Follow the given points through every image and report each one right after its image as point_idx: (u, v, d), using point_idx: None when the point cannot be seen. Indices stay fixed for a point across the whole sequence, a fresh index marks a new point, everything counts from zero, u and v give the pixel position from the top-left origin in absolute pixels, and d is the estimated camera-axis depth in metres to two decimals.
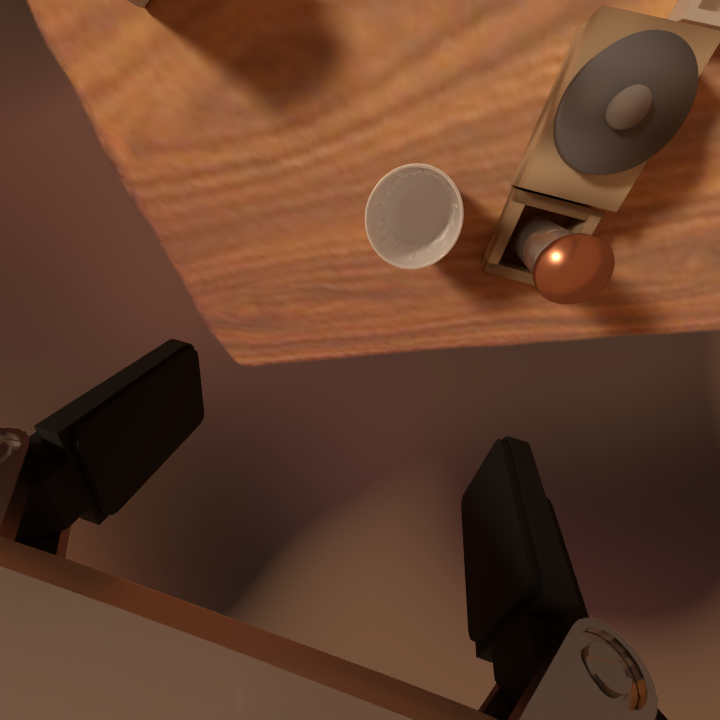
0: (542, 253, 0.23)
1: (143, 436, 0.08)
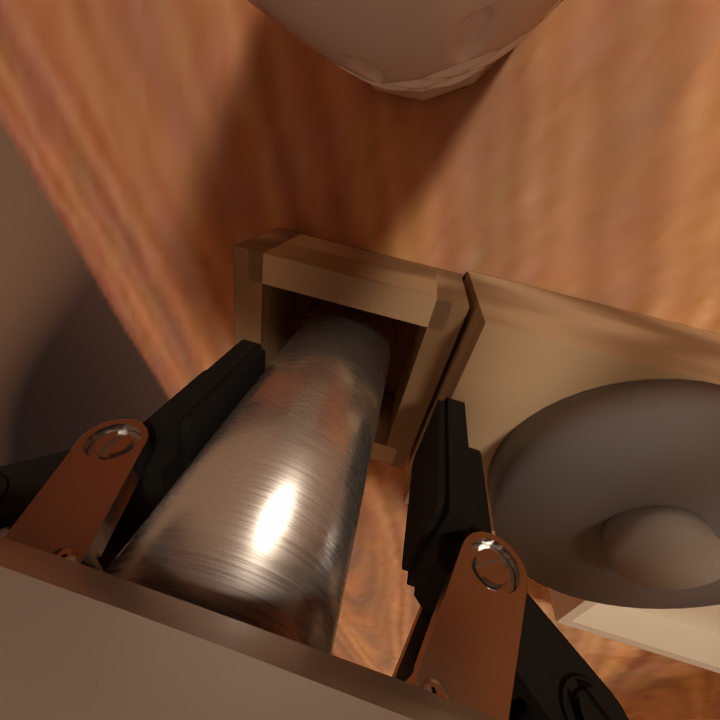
0: None
1: None
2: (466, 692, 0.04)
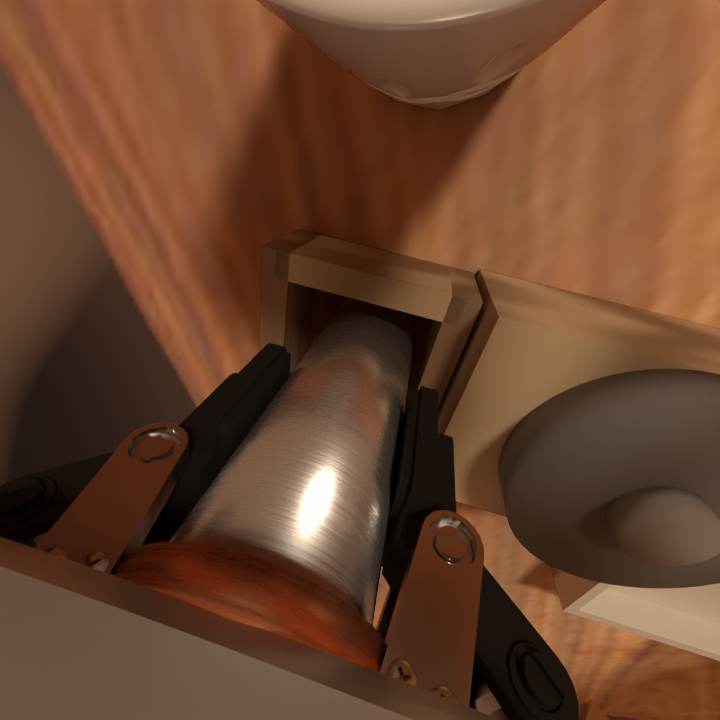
0: (281, 608, 0.04)
1: None
2: (431, 665, 0.05)
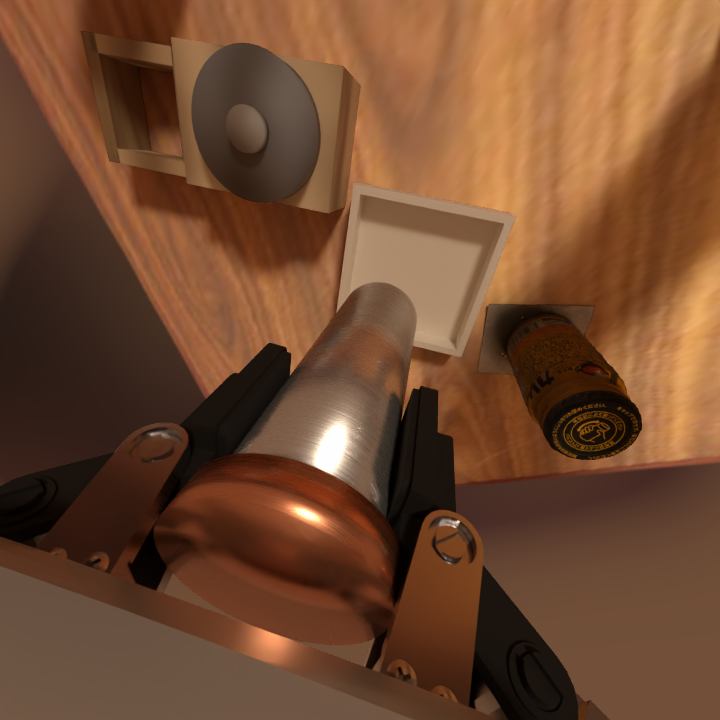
0: (321, 492, 0.05)
1: None
2: (430, 665, 0.05)
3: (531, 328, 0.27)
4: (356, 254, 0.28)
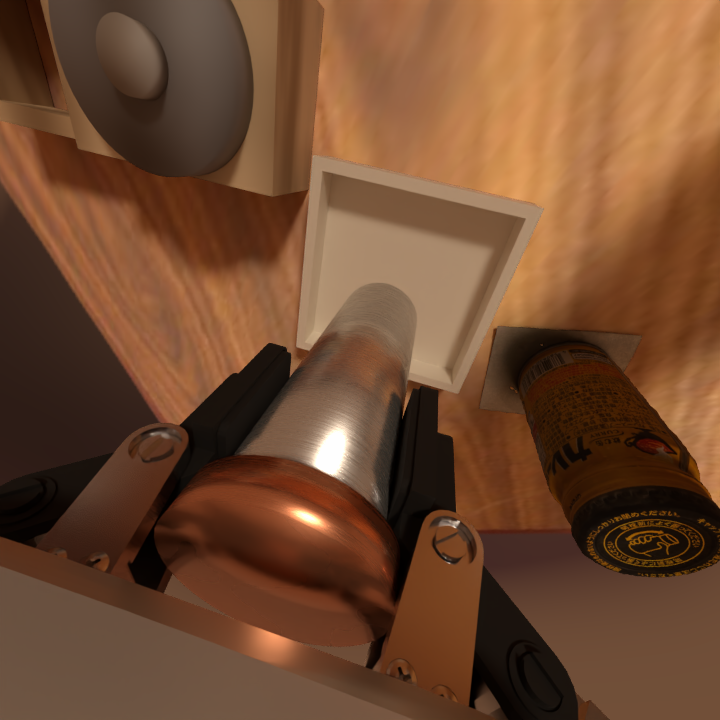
0: (321, 494, 0.05)
1: None
2: (430, 666, 0.05)
3: (555, 363, 0.20)
4: (324, 254, 0.21)
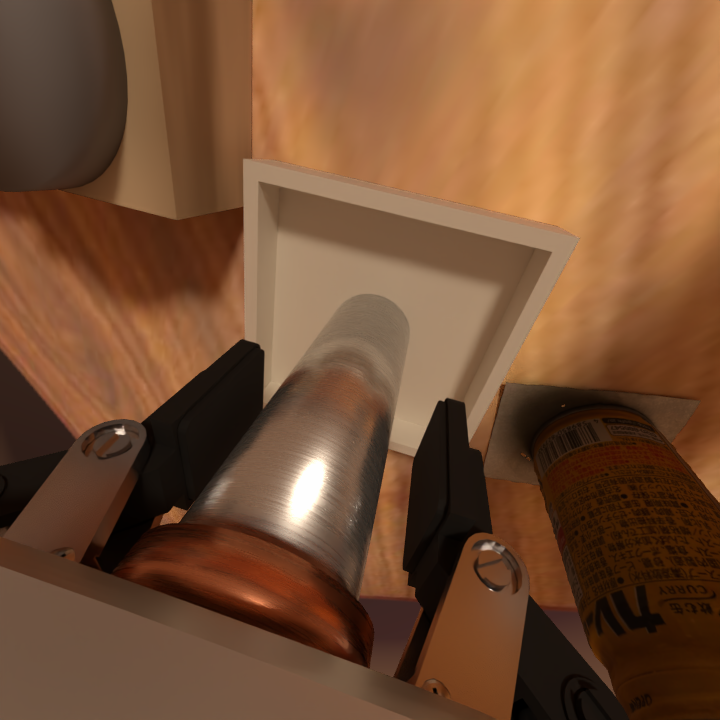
0: (274, 578, 0.05)
1: (224, 429, 0.09)
2: (467, 694, 0.04)
3: (584, 438, 0.15)
4: (276, 289, 0.16)
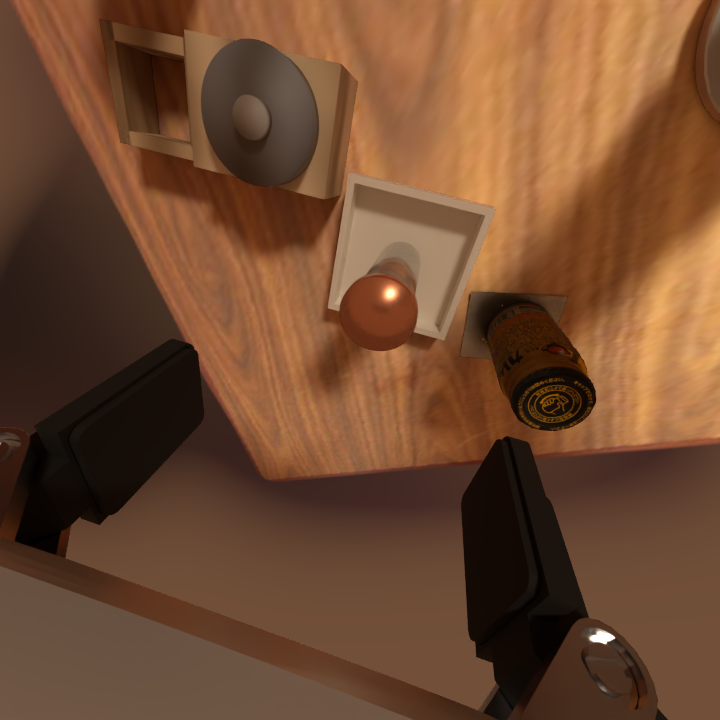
0: (397, 279, 0.19)
1: (143, 436, 0.08)
2: None
3: (509, 314, 0.29)
4: (350, 240, 0.30)
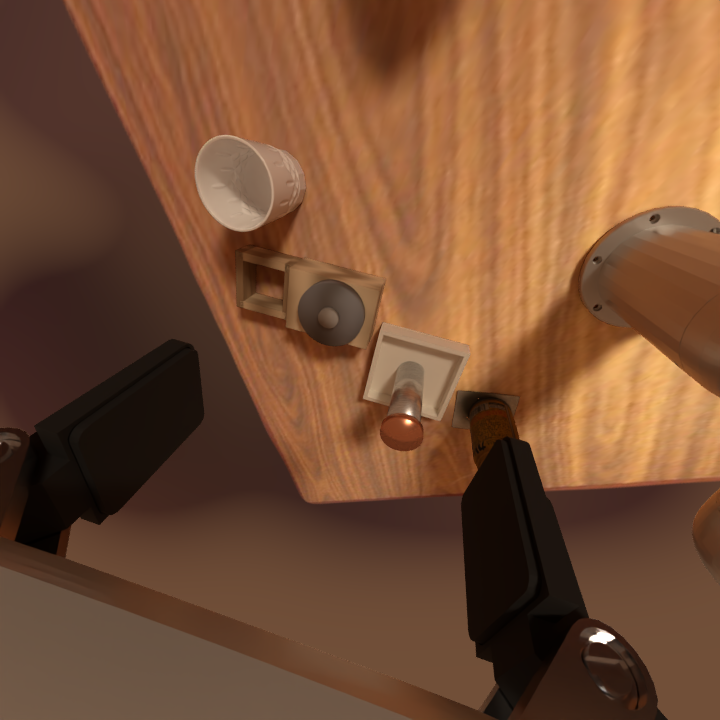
0: (412, 418, 0.35)
1: (143, 436, 0.08)
2: None
3: (481, 408, 0.45)
4: (378, 358, 0.47)
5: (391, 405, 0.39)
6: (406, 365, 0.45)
